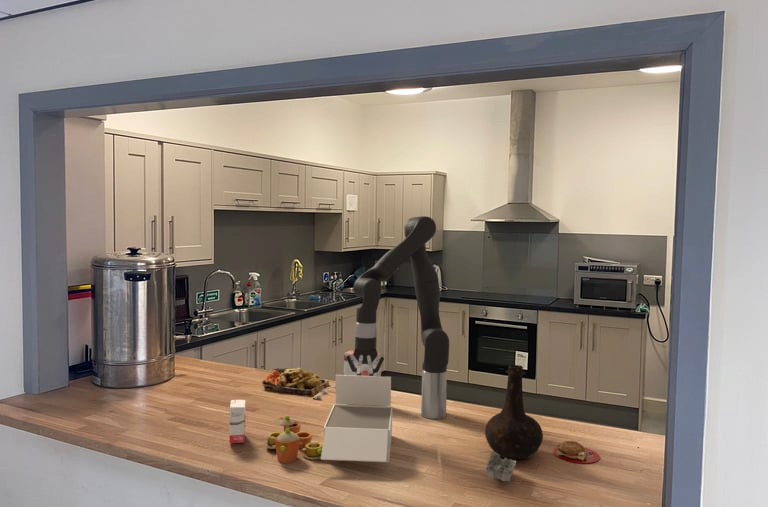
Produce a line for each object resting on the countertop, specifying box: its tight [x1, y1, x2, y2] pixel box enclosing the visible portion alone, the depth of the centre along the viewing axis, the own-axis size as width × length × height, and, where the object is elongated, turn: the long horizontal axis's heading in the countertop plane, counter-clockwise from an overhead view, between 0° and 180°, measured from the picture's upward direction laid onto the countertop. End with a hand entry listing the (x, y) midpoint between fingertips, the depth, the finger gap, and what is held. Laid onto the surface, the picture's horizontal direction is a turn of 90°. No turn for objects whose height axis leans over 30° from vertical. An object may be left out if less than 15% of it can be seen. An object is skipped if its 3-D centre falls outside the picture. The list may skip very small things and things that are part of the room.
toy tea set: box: [264, 415, 323, 464], centre depth 177 cm, size 26×16×10 cm, turn 30°
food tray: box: [260, 367, 335, 400], centre depth 243 cm, size 35×26×11 cm
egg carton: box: [485, 450, 517, 482], centre depth 160 cm, size 11×8×4 cm
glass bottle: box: [484, 364, 544, 460], centre depth 176 cm, size 18×18×28 cm
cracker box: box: [343, 350, 382, 406], centre depth 222 cm, size 14×6×21 cm, turn 68°
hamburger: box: [552, 440, 601, 464], centre depth 178 cm, size 14×14×6 cm
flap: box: [334, 370, 392, 407], centre depth 193 cm, size 19×10×8 cm
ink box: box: [229, 399, 247, 444], centre depth 184 cm, size 8×5×12 cm, turn 13°
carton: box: [320, 403, 393, 464], centre depth 175 cm, size 20×31×10 cm, turn 177°
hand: (364, 383), depth 196 cm, fingers open, 3 cm apart
